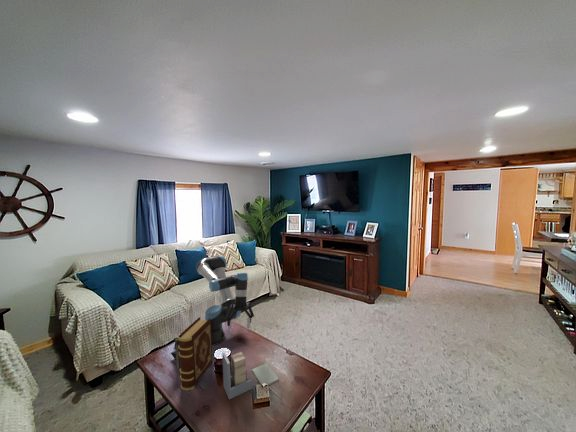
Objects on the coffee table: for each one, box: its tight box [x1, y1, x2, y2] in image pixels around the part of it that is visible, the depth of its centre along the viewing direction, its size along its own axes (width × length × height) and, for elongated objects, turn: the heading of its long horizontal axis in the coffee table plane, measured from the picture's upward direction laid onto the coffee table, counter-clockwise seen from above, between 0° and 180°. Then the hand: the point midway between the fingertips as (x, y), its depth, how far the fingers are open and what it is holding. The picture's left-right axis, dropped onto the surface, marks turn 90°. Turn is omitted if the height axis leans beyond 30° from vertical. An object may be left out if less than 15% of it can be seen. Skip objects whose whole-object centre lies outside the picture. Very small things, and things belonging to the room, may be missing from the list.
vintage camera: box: [170, 336, 181, 370], centre depth 150 cm, size 10×16×20 cm, turn 45°
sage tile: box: [251, 362, 280, 386], centre depth 138 cm, size 15×10×1 cm, turn 32°
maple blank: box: [230, 351, 247, 388], centre depth 129 cm, size 6×6×18 cm
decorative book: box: [177, 316, 213, 392], centre depth 137 cm, size 22×8×30 cm, turn 168°
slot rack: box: [221, 352, 253, 400], centre depth 128 cm, size 9×13×20 cm
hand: (239, 329), depth 155 cm, fingers open, 13 cm apart
